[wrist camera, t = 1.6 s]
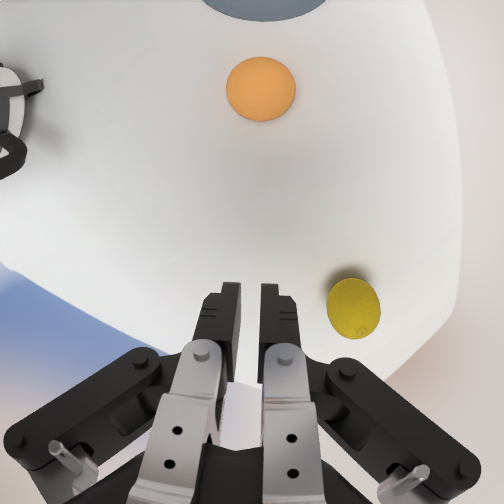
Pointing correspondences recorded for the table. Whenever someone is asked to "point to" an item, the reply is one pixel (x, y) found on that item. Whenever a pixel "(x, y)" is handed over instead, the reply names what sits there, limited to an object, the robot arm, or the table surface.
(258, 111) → the ball
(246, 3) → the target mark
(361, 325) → the lemon
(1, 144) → the coffee press
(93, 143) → the table surface
